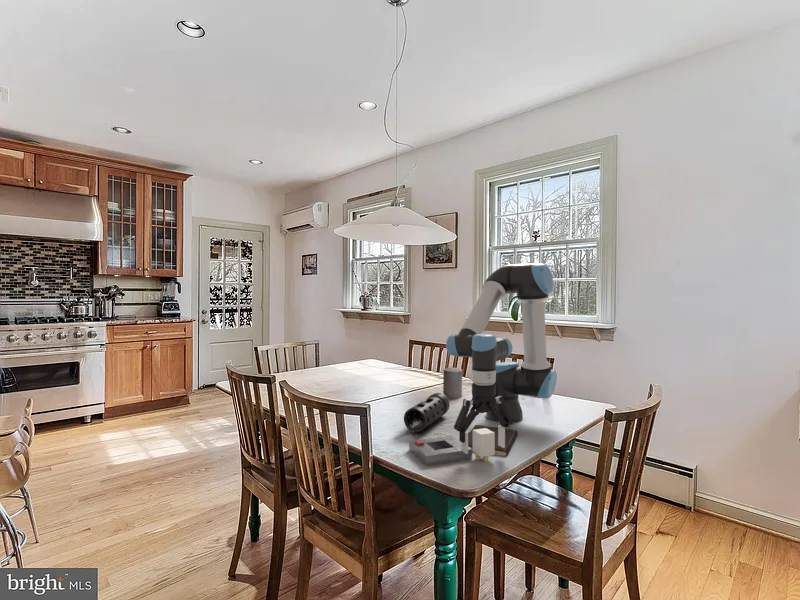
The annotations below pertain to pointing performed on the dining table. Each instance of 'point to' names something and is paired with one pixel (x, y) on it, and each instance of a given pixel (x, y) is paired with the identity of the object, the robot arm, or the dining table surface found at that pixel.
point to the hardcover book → (496, 439)
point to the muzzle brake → (426, 412)
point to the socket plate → (439, 450)
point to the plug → (483, 443)
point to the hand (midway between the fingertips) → (483, 449)
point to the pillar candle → (452, 382)
